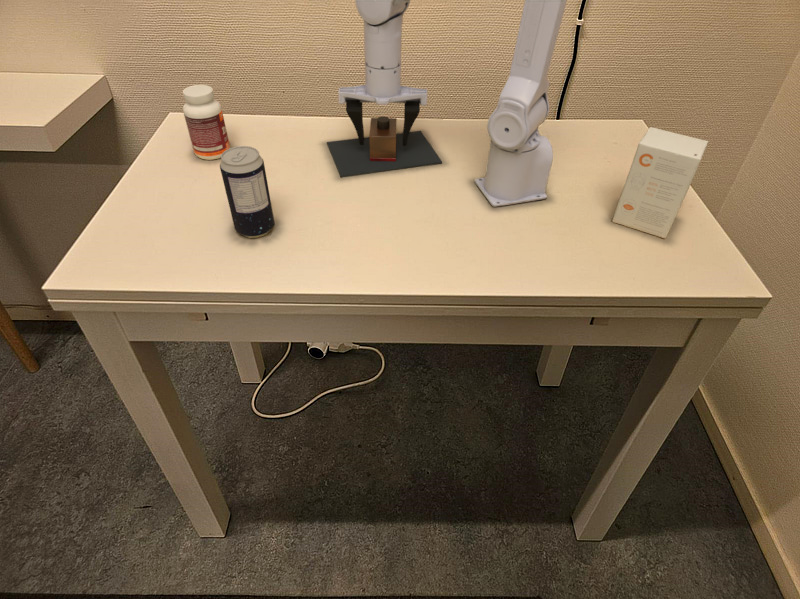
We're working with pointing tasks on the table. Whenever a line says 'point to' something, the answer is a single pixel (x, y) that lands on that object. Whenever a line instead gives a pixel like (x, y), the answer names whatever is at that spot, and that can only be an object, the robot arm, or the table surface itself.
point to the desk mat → (357, 161)
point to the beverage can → (247, 191)
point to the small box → (658, 181)
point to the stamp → (383, 139)
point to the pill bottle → (205, 122)
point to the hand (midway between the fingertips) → (383, 142)
